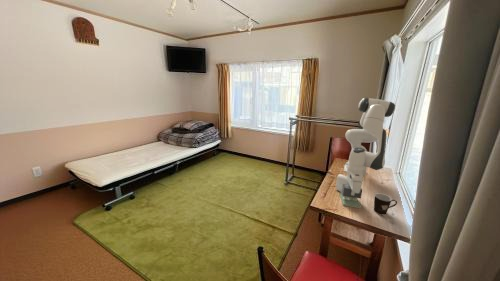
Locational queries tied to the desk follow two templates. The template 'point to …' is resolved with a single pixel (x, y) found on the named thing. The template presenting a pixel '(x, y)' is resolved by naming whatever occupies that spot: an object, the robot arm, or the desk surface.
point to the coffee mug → (382, 203)
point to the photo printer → (341, 182)
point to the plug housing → (347, 192)
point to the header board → (350, 201)
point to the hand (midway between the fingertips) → (351, 192)
